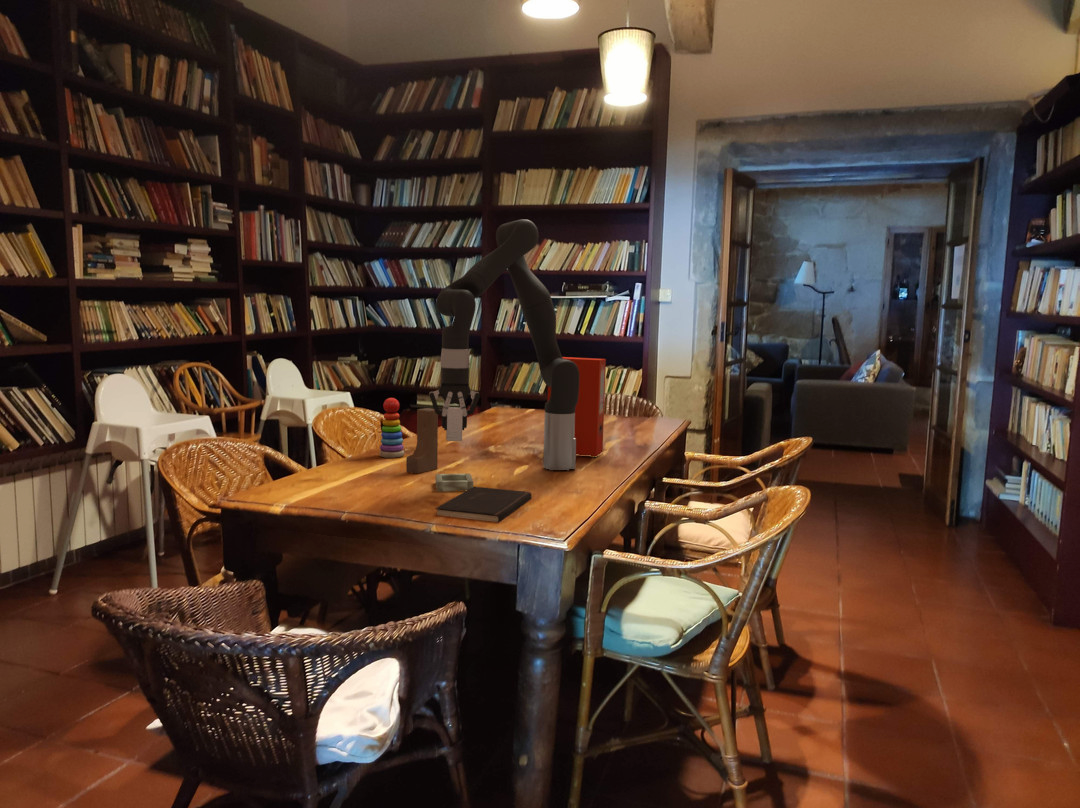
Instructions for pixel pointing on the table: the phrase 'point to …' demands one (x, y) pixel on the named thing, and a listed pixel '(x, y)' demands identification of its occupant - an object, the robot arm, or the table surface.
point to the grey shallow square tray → (453, 482)
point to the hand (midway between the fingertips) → (454, 429)
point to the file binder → (589, 405)
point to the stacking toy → (391, 431)
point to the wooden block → (425, 443)
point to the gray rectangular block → (454, 424)
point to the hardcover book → (484, 504)
